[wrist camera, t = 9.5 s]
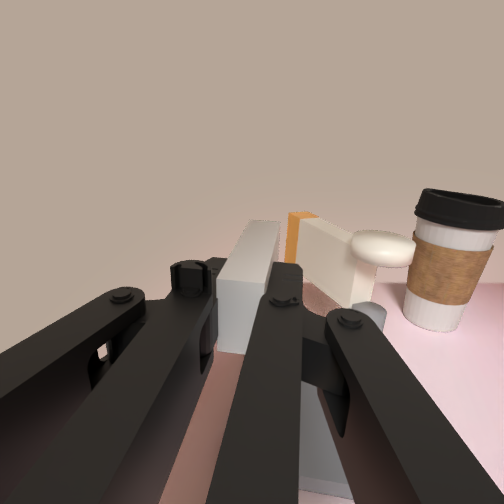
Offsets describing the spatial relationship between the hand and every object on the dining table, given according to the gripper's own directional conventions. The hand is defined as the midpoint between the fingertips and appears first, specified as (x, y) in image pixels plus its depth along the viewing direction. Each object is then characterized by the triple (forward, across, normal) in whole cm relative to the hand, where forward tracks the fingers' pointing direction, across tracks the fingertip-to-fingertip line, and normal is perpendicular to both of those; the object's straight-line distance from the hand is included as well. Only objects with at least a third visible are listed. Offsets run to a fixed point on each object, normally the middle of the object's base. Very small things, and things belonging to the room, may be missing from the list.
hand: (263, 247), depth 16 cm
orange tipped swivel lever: (+10, +5, -14) cm, 18 cm away
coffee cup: (+22, +18, -16) cm, 32 cm away
